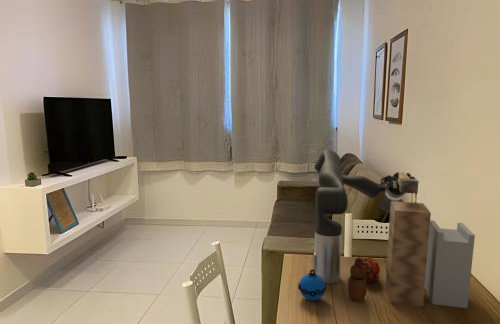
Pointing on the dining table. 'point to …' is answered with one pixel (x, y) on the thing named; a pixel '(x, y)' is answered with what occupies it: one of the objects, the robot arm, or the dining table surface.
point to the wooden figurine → (357, 281)
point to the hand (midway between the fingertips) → (403, 175)
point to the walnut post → (407, 252)
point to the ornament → (312, 286)
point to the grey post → (449, 265)
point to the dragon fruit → (370, 269)
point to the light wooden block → (407, 184)
